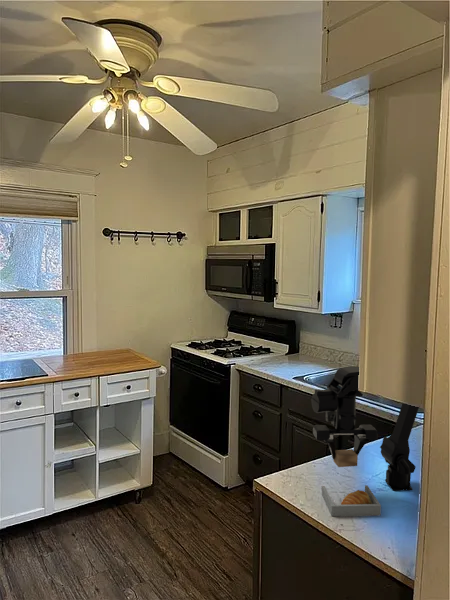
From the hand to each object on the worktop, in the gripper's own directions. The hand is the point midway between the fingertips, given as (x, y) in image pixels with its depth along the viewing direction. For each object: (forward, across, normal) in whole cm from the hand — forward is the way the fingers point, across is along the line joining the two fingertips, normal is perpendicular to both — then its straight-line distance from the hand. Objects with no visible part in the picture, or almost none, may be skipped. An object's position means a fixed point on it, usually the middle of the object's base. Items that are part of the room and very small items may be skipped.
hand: (344, 458), depth 142 cm
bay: (+11, 0, +7) cm, 13 cm away
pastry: (+11, -2, +8) cm, 14 cm away
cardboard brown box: (+1, 0, +1) cm, 1 cm away
